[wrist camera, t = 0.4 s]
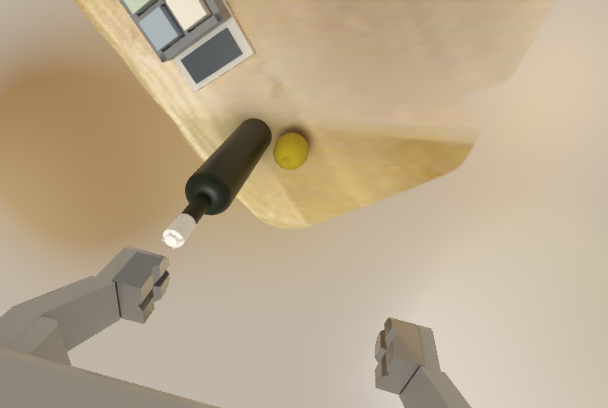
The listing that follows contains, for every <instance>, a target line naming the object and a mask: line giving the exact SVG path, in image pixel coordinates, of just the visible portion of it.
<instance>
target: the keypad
mask: <svg viewBox="0 0 608 408" xmlns="http://www.w3.org/2000/svg"><path fill="white" fill-rule="evenodd" d="M119 1H120V2H121V4H122V5H123V6H124V8H125V9H126V11H127V12H128V14H129V15H130V17H131V18H132V19H133V21H134V22H135V24H136V25H137V27H138V28H139V30H140V31H141V32H142V34H143V35H144V37H145V38H146V40H147V41H148V42H149V44H150V45H151V47H152V48H153V50H154V51H155V53H156V54H157V55H158V57H159V58H160V60H161V61H162V63H163V62H166V61H169V60H173V61H174V63H175V64H176V65H177V67H178V68H179V70H180V71H181V73H182V74H183V76H184V77H185V79H186V80H187V82H188V83H189V85H190V86H191V88H192V89H193V90H194V92H196V91H197V90H199V89H200V88H202V87H204V86H205V85H207V84H208V83H210V82H211V81H213V80H214V79H216V78H217V77H219V76H221V75H222V74H224V73H225V72H227V71H228V70H230V69H231V68H233V67H234V66H236V65H238V64H239V63H241V62H242V61H244V60H245V59H247V58H248V57H250V56H251V55H253V54H255V51H254V49H253V47H252V46H251V44H250V42H249V40H248V39H247V37H246V35H245V33H244V32H243V30H242V28H241V26H240V25H239V23H238V21H237V19H236V18H235V16H234V14H233V13H232V11H231V9H230V7H229V6H228V4H227V2H226V0H205V1H206V3H207V4H208V6H209V8H210V10H211V11H212V13H213V14H211V15H210V16H209V17H207V18H206V19H205V20H203V21H202V22H201V23H199V24H198V25H197V26H195V27H194V28H193V29H191V30H186V31H184V29H183V28H182V26H181V25H180V23H179V21H178V20H177V18H176V17H175V15H174V14H173V12H172V11H171V9H170V7H169V6H168V4H167V3H166V0H158V1H156V2H155V3H154V4H153V5H152V6H150V7H149V8H148V9H147V10H146V11H144V12H143V13H142V14H132V12H131V11H130V9H129V8H128V6H127V5H126V3H125V2H124V1H123V0H119ZM159 6H167V7H168V9H169V11H170V12H171V14H172V15H173V17H174V18H175V20H176V21H177V23H178V24H179V26H180V28H181V29H182V31H183V32H184V34H185V35H183V36H182V37H181V38H179V39H178V40H177V41H175V42H174V43H173V44H171V45H170V46H169V47H167V48H166V49H163V50H159V51H157V49H156V48H155V46H154V45H153V43H152V42H151V40H150V39H149V38H148V36H147V35H146V33H145V32H144V30H143V29H142V27H141V26H140V24H139V22H140V21H141V20H143V19H144V18H145V17H146V16H148V15H149V14H150V13H151V12H152V11H154V10H155V9H156V8H157V7H159Z"/></svg>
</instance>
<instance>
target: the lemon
mask: <svg viewBox="0 0 608 408" xmlns="http://www.w3.org/2000/svg"><path fill="white" fill-rule="evenodd" d="M307 156H308V144H307V142H306V140H305V139H304V138H303V137H302V136H301V135H299V134H297V133H287V134H284V135H282V136H281V137H280V138H279V139H278V140H277V142H276V143H275V146H274V159H275V161H276V163H277V164H278V165H279V166H280V167H281V168H284V169H287V170H293V169H296V168H298V167H300V166H301V165H302V164H303V163H304V162H305V160H306V159H307Z"/></svg>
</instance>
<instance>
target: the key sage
mask: <svg viewBox="0 0 608 408" xmlns="http://www.w3.org/2000/svg"><path fill="white" fill-rule="evenodd" d="M123 1H124V2H125V3H126V5H127V6H128V8H129V9H130V11H131V12H132V14H142V13H143V12H144V11H146V10H147V9H148V8H149V7H150V6H152V5H153V4H154V3H155V2H156V1H158V0H123Z"/></svg>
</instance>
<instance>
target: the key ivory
mask: <svg viewBox="0 0 608 408" xmlns="http://www.w3.org/2000/svg"><path fill="white" fill-rule="evenodd" d="M166 3H167V4H168V6H169V7H170V9H171V11H172V12H173V14H174V15H175V17H176V18H177V20H178V21H179V23H180V25H181V26H182V28H183V29H184V31H186V30H191V29H193V28H194V27H195V26H197V25H198V24H199V23H201V22H202V21H203V20H205V19H206V18H207V17H209V16H210V15H211V14H213V13H212V11H211V10H210V8H209V6H208V4H207V3H206V1H205V0H166Z"/></svg>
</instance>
